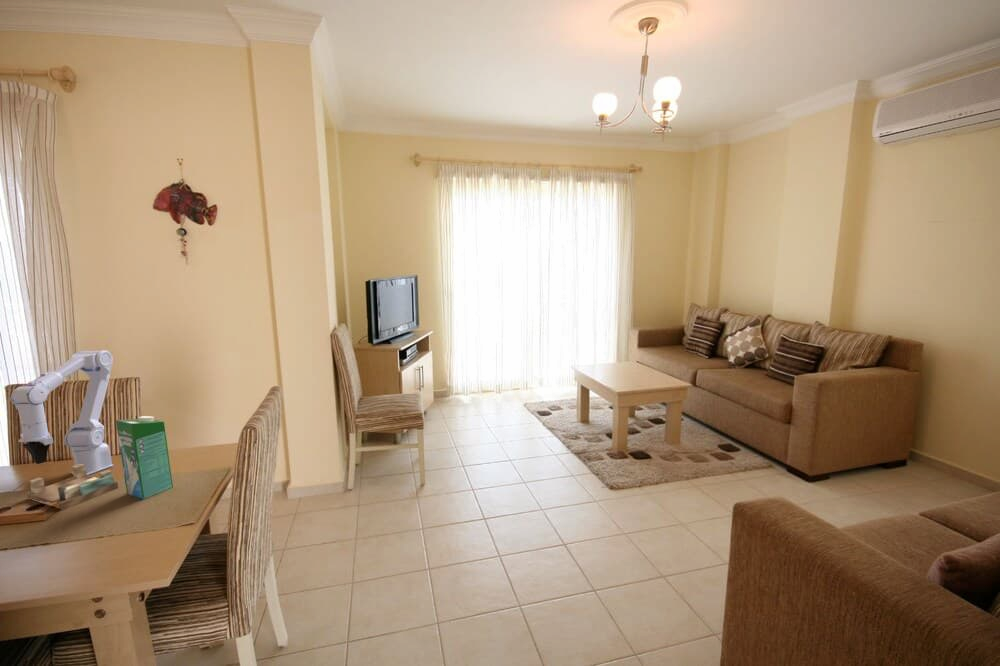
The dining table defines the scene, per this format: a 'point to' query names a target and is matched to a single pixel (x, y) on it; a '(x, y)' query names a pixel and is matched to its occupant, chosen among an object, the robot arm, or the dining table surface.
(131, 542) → the dining table surface
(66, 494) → the stool leg
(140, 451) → the milk carton
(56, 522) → the dining table surface
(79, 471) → the stool seat
